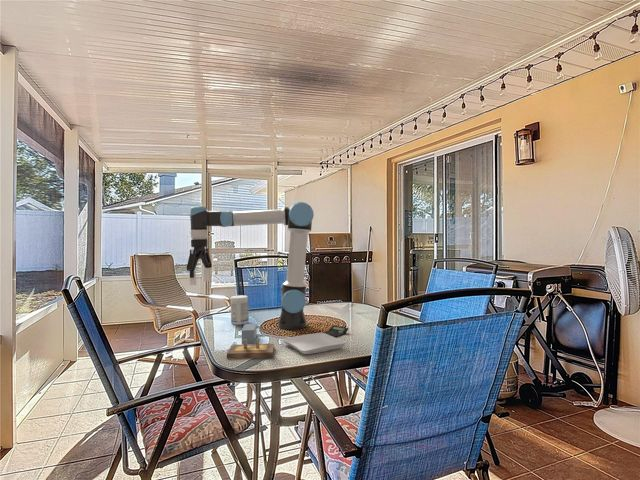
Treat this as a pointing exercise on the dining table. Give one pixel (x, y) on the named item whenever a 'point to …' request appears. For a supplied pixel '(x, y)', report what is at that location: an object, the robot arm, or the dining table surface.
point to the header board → (251, 350)
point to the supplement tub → (239, 310)
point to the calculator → (336, 331)
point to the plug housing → (249, 333)
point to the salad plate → (314, 343)
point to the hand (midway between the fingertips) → (200, 282)
